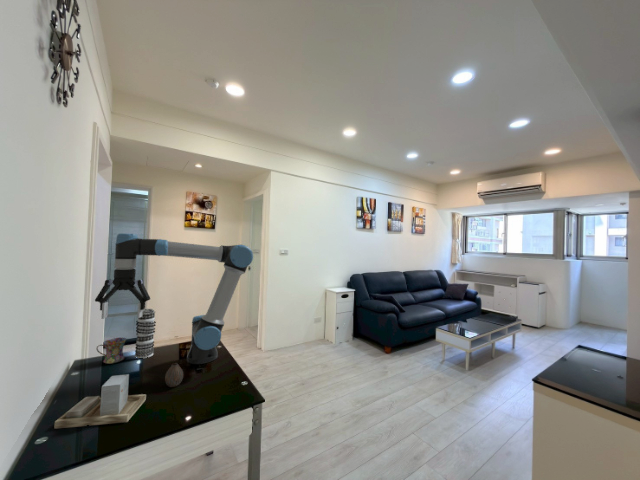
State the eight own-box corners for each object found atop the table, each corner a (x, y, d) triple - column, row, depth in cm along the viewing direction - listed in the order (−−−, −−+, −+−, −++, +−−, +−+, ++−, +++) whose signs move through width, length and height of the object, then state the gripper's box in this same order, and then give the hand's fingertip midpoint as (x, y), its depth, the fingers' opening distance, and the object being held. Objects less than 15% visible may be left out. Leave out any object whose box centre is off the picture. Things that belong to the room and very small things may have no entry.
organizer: (145, 399, 99) (146, 389, 99) (127, 421, 86) (127, 410, 86) (83, 404, 95) (84, 394, 95) (54, 428, 82) (55, 416, 82)
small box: (109, 404, 94) (111, 375, 95) (127, 402, 96) (129, 373, 96) (98, 418, 87) (100, 386, 87) (118, 415, 88) (120, 384, 89)
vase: (185, 384, 111) (186, 364, 111) (167, 391, 106) (168, 369, 106) (179, 379, 115) (180, 359, 116) (162, 384, 110) (163, 364, 111)
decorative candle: (129, 357, 137) (132, 310, 138) (146, 351, 146) (149, 307, 147) (141, 360, 134) (144, 312, 135) (158, 353, 142) (160, 308, 144)
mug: (126, 356, 138) (127, 336, 139) (123, 362, 130) (124, 341, 131) (97, 360, 132) (99, 339, 133) (93, 367, 124) (94, 345, 125)
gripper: (160, 268, 117) (157, 314, 116) (98, 267, 113) (95, 316, 112) (152, 269, 110) (150, 319, 109) (86, 268, 105) (82, 320, 104)
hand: (122, 317), depth 110 cm, fingers open, 13 cm apart
